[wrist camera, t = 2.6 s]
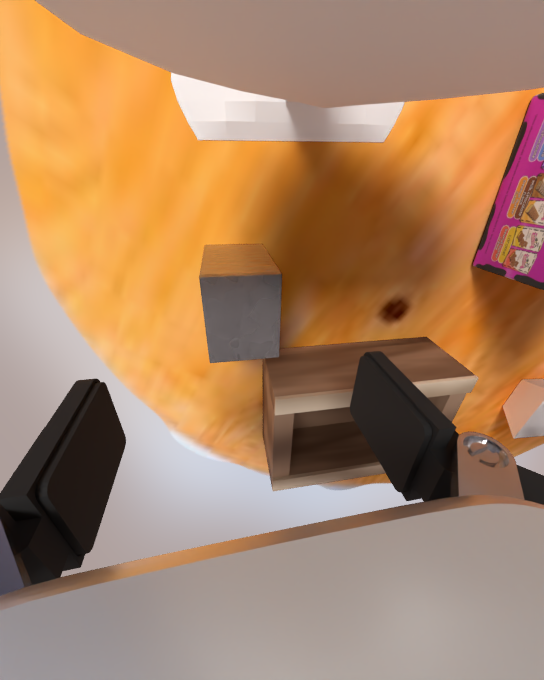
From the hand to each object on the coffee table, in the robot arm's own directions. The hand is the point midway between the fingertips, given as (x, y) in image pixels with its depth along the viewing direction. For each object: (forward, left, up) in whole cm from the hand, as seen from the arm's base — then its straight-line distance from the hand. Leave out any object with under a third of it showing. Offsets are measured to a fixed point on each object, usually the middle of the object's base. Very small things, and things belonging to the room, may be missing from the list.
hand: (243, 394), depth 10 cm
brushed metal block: (0, 0, -12) cm, 12 cm away
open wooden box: (+12, +10, -12) cm, 20 cm away
